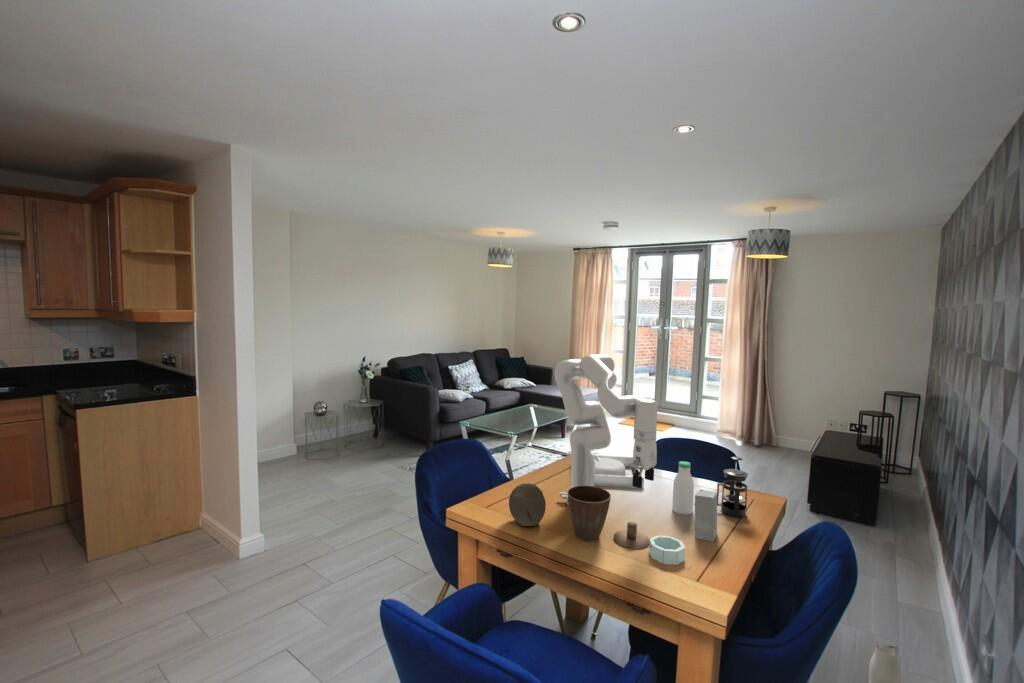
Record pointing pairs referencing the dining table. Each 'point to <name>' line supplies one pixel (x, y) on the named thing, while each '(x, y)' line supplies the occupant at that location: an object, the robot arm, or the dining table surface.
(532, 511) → the grey stone egg
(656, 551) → the bowl
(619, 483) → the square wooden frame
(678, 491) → the milk bottle
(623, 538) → the lid
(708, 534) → the skincare box
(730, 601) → the dining table surface
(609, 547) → the dining table surface
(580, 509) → the plant pot
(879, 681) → the glass bottle
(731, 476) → the french press
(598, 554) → the dining table surface
